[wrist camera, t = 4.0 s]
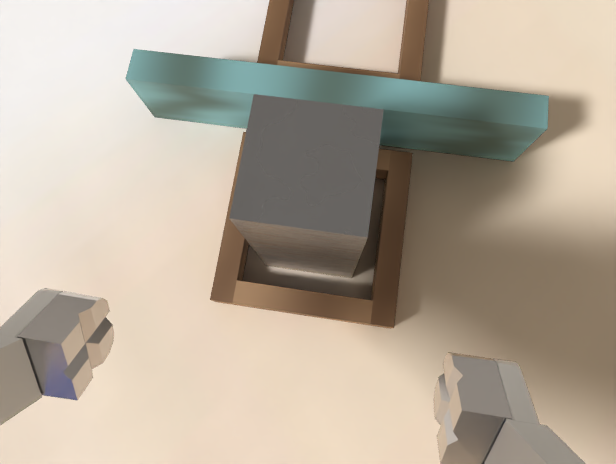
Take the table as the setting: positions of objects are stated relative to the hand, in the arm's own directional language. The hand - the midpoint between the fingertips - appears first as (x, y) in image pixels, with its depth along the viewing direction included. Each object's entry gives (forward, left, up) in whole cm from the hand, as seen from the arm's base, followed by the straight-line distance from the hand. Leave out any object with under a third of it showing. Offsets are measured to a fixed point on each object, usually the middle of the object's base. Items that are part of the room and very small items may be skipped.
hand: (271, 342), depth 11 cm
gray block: (0, +5, -10) cm, 11 cm away
